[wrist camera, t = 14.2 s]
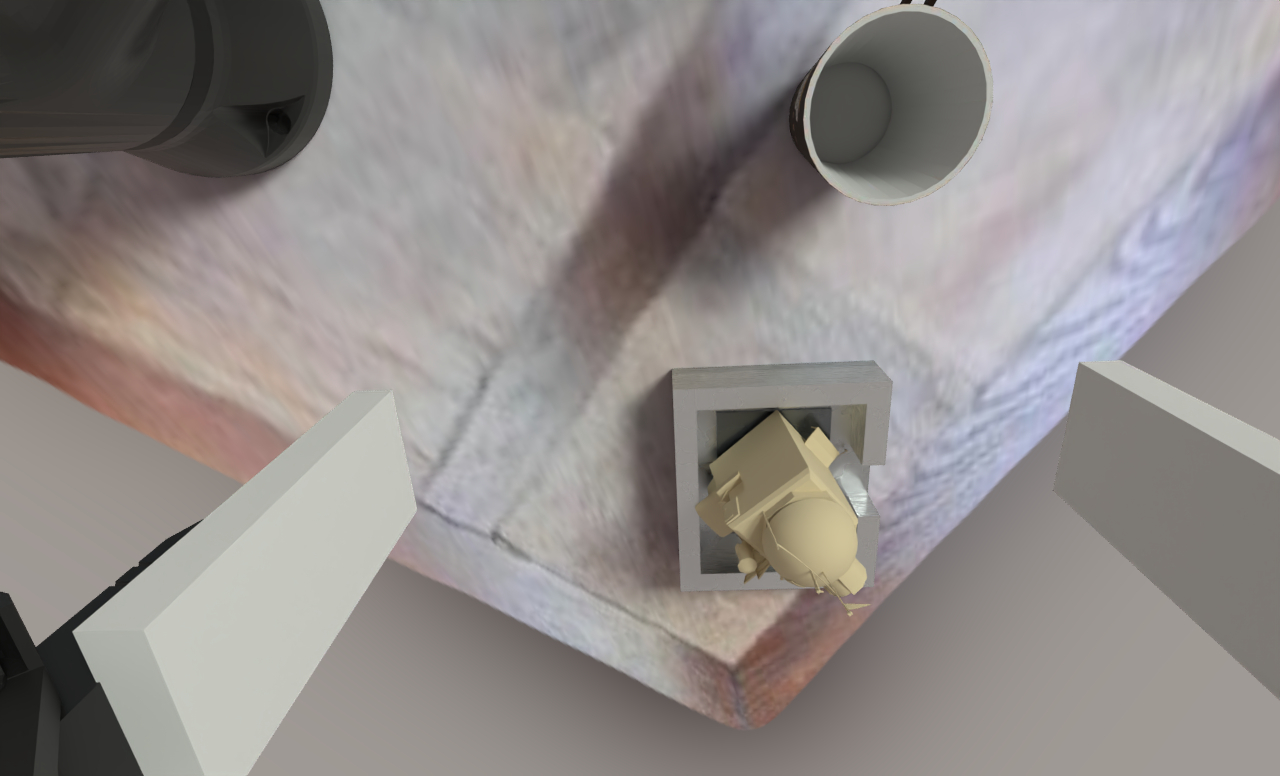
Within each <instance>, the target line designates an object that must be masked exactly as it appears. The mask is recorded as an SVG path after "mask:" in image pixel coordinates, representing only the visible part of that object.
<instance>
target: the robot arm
mask: <svg viewBox="0 0 1280 776" xmlns="http://www.w3.org/2000/svg"><path fill="white" fill-rule="evenodd" d="M332 78H333V55H332V46H331V40H330V34H329V30H328V26H327V22H326V19H325V15H324V12H323V10H322V7H321V4H320V2H319V0H0V158H12V157H28V156H44V155H60V154H77V153H93V152H109V151H124V152H127V153H130V154H132V155H135V156H137V157H140V158H143V159H145V160H148V161H151V162H153V163H156V164H159V165H161V166H164V167H166V168H169V169H172V170H175V171H178V172H182V173H186V174H190V175H197V176H204V177H233V176H242V175H251V174H256V173H261V172H264V171H267V170H270V169H273V168H275V167H277V166H279V165H281V164H283V163H285V162H286V161H288V160H289V159H291V158H292V157H294V156H295V155H296V154H297V153H298V152H299V151H301V150H302V149H303V148H304V146H305V145H306V144H307V143H308V142H309V141H310V139H311V138H312V137H313V135H314V134H315V132H316V131H317V129H318V127H319V125H320V123H321V121H322V119H323V117H324V114H325V112H326V109H327V106H328V102H329V98H330V93H331V88H332ZM1053 491H1054V492H1055V493H1056V494H1057V495H1058V496H1059V497H1060V498H1062V499H1063V500H1064V501H1065V502H1066V503H1067V504H1068V505H1069V506H1070V507H1071V508H1072V509H1073V510H1075V511H1076V512H1077V513H1078V514H1079V515H1080V516H1081V517H1082V518H1083V519H1084V520H1085V521H1086V522H1088V523H1089V524H1090V525H1091V526H1092V527H1093V528H1094V529H1095V530H1096V531H1097V532H1098V533H1099V534H1101V535H1102V536H1103V537H1104V538H1105V539H1106V540H1107V541H1108V542H1109V543H1110V544H1111V545H1112V546H1113V547H1115V548H1116V549H1117V550H1118V551H1119V552H1120V553H1121V554H1122V555H1123V556H1124V557H1126V559H1128V560H1129V561H1130V562H1131V563H1132V564H1133V565H1134V566H1135V567H1136V568H1137V569H1138V570H1139V571H1140V572H1142V573H1143V574H1144V575H1145V576H1146V577H1147V578H1148V579H1149V580H1150V581H1151V582H1152V583H1153V584H1155V585H1156V586H1157V587H1158V588H1159V589H1160V590H1161V591H1162V592H1163V593H1164V594H1165V595H1166V596H1168V597H1169V598H1170V599H1171V600H1172V601H1173V602H1174V603H1175V604H1176V605H1177V606H1178V607H1179V608H1180V609H1182V610H1183V611H1184V612H1185V613H1186V614H1187V615H1188V616H1189V617H1190V618H1191V619H1192V620H1193V621H1195V622H1196V623H1197V624H1198V625H1199V626H1200V627H1201V628H1202V629H1203V630H1205V632H1206V633H1208V634H1209V635H1210V636H1211V637H1212V638H1213V639H1214V640H1215V641H1216V642H1217V643H1218V644H1220V646H1222V647H1223V648H1224V649H1225V650H1226V651H1227V652H1228V653H1229V654H1230V655H1232V657H1233V658H1235V659H1236V660H1237V661H1238V662H1239V663H1240V664H1241V665H1242V666H1243V667H1244V668H1245V669H1246V670H1248V671H1249V672H1250V673H1251V674H1252V675H1253V676H1254V677H1255V678H1256V679H1257V680H1258V681H1259V682H1260V683H1262V684H1263V685H1264V686H1265V687H1266V688H1267V689H1268V690H1269V691H1270V692H1271V693H1272V694H1274V695H1275V696H1276V697H1277V698H1278V699H1279V700H1280V440H1278V439H1276V438H1274V437H1272V436H1270V435H1268V434H1266V433H1264V432H1262V431H1260V430H1258V429H1256V428H1254V427H1252V426H1250V425H1248V424H1246V423H1244V422H1242V421H1240V420H1238V419H1236V418H1235V417H1233V416H1230V415H1229V414H1227V413H1224V412H1223V411H1221V410H1218V409H1217V408H1215V407H1212V406H1211V405H1209V404H1207V403H1205V402H1203V401H1201V400H1199V399H1197V398H1194V397H1193V396H1191V395H1189V394H1187V393H1185V392H1183V391H1181V390H1179V389H1177V388H1175V387H1173V386H1171V385H1169V384H1167V383H1165V382H1163V381H1161V380H1159V379H1157V378H1155V377H1153V376H1151V375H1149V374H1147V373H1145V372H1143V371H1141V370H1139V369H1137V368H1135V367H1133V366H1131V365H1129V364H1127V363H1125V362H1123V361H1121V360H1120V361H1095V362H1079V364H1078V369H1077V374H1076V379H1075V384H1074V389H1073V394H1072V399H1071V404H1070V409H1069V414H1068V419H1067V424H1066V429H1065V434H1064V438H1063V444H1062V448H1061V453H1060V458H1059V463H1058V468H1057V473H1056V478H1055V483H1054V488H1053ZM416 511H417V507H416V503H415V498H414V493H413V488H412V483H411V479H410V474H409V469H408V464H407V460H406V455H405V450H404V445H403V440H402V436H401V431H400V426H399V421H398V417H397V412H396V407H395V402H394V397H393V393H392V390H377V391H354V392H353V393H352V394H350V395H349V396H348V397H347V398H346V399H345V400H343V401H342V402H341V403H340V404H339V405H337V406H336V407H335V408H334V409H333V410H332V411H330V412H329V413H328V414H327V415H326V416H325V417H323V418H322V419H321V420H320V421H319V422H318V423H316V424H315V425H314V426H313V427H312V428H311V429H309V430H308V431H307V432H306V433H305V434H303V435H302V436H301V437H300V438H299V439H298V440H296V441H295V442H294V443H293V444H292V445H291V446H289V447H288V448H287V449H286V450H285V451H284V452H282V453H281V454H280V455H279V456H278V457H276V458H275V459H274V460H273V461H272V462H271V463H269V464H268V465H267V466H266V467H265V468H264V469H262V470H261V471H260V472H259V473H258V474H257V475H255V476H254V477H253V478H252V479H251V480H250V481H248V482H247V483H246V484H245V485H244V486H242V487H241V488H240V489H239V490H238V491H237V492H235V493H234V494H233V495H232V496H231V497H230V498H228V499H227V500H226V501H225V502H224V503H223V504H221V505H220V506H219V507H218V508H217V509H216V510H214V511H213V512H212V513H211V514H210V515H209V516H207V517H206V518H205V519H203V520H201V521H199V522H197V523H195V524H193V525H192V526H190V527H188V528H186V529H184V530H182V531H181V532H179V533H177V534H175V535H173V536H171V537H170V538H168V539H166V540H165V541H164V542H162V543H161V544H160V545H159V546H158V547H156V548H155V549H154V550H153V551H152V552H150V553H149V554H148V555H147V556H146V557H144V558H143V559H142V560H141V561H140V562H139V566H138V567H132V568H131V569H130V570H129V571H127V572H126V573H125V574H124V575H123V576H122V577H120V578H119V579H118V580H117V581H116V584H115V586H109V587H108V588H107V589H106V590H105V591H103V592H102V593H101V594H100V595H99V596H97V597H96V598H95V599H94V600H92V601H91V602H90V603H89V604H88V605H86V606H85V607H84V608H83V609H82V610H80V611H79V612H78V613H77V614H76V615H74V616H73V617H72V618H71V619H69V620H68V621H67V622H66V623H65V624H63V625H62V626H61V627H60V628H59V629H57V630H56V631H55V632H54V633H53V634H51V635H50V636H49V637H48V638H47V639H45V640H44V641H43V642H42V643H41V644H39V645H38V646H37V647H35V645H34V643H33V641H32V639H31V637H30V635H29V633H28V631H27V629H26V627H25V625H24V623H23V621H22V619H21V617H20V616H19V613H18V611H17V609H16V607H15V605H14V603H13V601H12V600H11V597H10V595H9V594H8V593H3V592H0V776H247V775H248V773H249V772H250V770H251V768H252V767H253V765H254V764H255V762H256V760H257V759H258V758H259V756H260V754H261V753H262V751H263V750H264V748H265V747H266V745H267V743H268V742H269V740H270V739H271V737H272V736H273V734H274V732H275V731H276V729H277V728H278V726H279V725H280V723H281V722H282V720H283V718H284V717H285V715H286V714H287V712H288V711H289V709H290V708H291V706H292V705H293V703H294V701H295V700H296V698H297V696H298V695H299V694H300V692H301V691H302V689H303V687H304V686H305V684H306V683H307V681H308V680H309V678H310V676H311V675H312V673H313V672H314V670H315V669H316V667H317V666H318V664H319V662H320V661H321V659H322V658H323V656H324V655H325V653H326V652H327V650H328V648H329V647H330V645H331V644H332V642H333V641H334V639H335V638H336V636H337V634H338V633H339V631H340V630H341V628H342V627H343V625H344V623H345V622H346V620H347V619H348V617H349V616H350V614H351V613H352V611H353V609H354V608H355V606H356V605H357V603H358V602H359V600H360V598H361V597H362V595H363V594H364V592H365V590H366V589H367V588H368V586H369V584H370V583H371V581H372V580H373V578H374V577H375V575H376V574H377V572H378V571H379V569H380V567H381V565H382V564H383V563H384V561H385V560H386V558H387V556H388V555H389V553H390V552H391V550H392V549H393V547H394V546H395V544H396V542H397V541H398V539H399V538H400V536H401V535H402V533H403V532H404V530H405V528H406V527H407V525H408V524H409V522H410V521H411V519H412V518H413V516H414V514H415V513H416Z"/></svg>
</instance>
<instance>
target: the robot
mask: <svg viewBox="0 0 1280 776" xmlns="http://www.w3.org/2000/svg"><path fill="white" fill-rule="evenodd" d="M811 428H814V429H815V430H814V431H813V433H812V434H811V435H810V436H809V437H808V439H807V440H805V439H804V438H803V437H802V436H801V435H800V434H799V433H798V432H797V431H796V430H795V429H794V427H793V426H792V425H791V424H790V423H789V422H788V421H787V420H786V419H785V418H784V417H783V416H782V415H781V413H780V412H779V411H778V410H776V411H774V412H773V413H772V414H771V415H770V416H768V417H767V418H766V419H765V420H764V421H762V422H761V423H760V424H759V425H757V426H756V427H755V428H754V429H753V430H751V431H750V432H749V433H748V434H747V435H745V436H744V437H743V438H742V439H740V440H739V441H738V442H737V443H736V444H734V445H733V446H732V447H731V448H730V449H728V450H727V451H726V452H725V453H723V454H722V455H721V456H720V457H719V458H717V459H716V460H715V461H714V462H713V463H711V464H710V465H709V467H710V469H711V472H712V474H713V479H712V481H711V482H710V484H709V485H708V487H707V489H708V496H707V497H706V498H705V499H703V500H702V501H701V502H699V503H698V504H697V505H696V507H695V510H696V511H697V513H698V515H699V516H700V517H701V518H702V519H703V521H704V522H705V523H706V524H707V525H708V526H709V527H710V528H711V529H712V530H713V531H714V532H716V533H717V534H718V535H719V536H720V537H725V536H727V535H728V534H730V533H732V532H735V533H736V534H737V535H738V536H739V538H740V539H741V540H742V543H741V544H738V543H737V544H736V546H735V550H736V554H737V556H738V558H739V564H738V568H739V571H740V572H743V573H745V574H746V575H745V579H744V584H746V583H747V582H748V581H750V580H751V579H752V578H754V577H755V576H756V575H757V577H758V579H760V578H761V577H762V575H763V574H764V573H765V571H766V570H767V568H768V567H769V566H770V565H771V566H772V567H773V568H774V569H775V571H776V572H777V573H778V574H779V575H780V580H783V578H785V580H786V581H787V582H789V583H791V584H793V585H796V586H799V587H803V588H805V587H815V589H816V592H817V593H818V594H819V593H820V592H821V593H823V592H824V591H820V589H819V587H824V588H825V589H826V590H827V591H828V592H829V593H830V594H831V593H832V594H833V595H834V596H837V597H838V598H839V599H840V597H842V596H846V595H848V594H850V593H853V595H854V594H855V593H857V592H858V591H859V590H860V589H861V588H862V587H863V586H864V583H865V581H866V579H867V574H866V569H865V568H864V566H863V565H862V564H861V563H860V562H859V561H858V560H857V559H856V558H855V556H856V553H857V546H858V540H857V533H856V528H857V524H858V518H857V517H856V515H855V513H854V512H853V510H852V508H851V506H850V505H849V503H848V501H847V499H846V498H845V496H844V494H843V493H842V491H841V489H840V487H839V486H838V484H837V482H836V480H835V479H834V477H833V475H832V473H831V472H830V470H829V466H830V464H831V463H832V462H833V461H834V460H835V459H836V458H837V456H838V455H839V454H840V455H841V453H839V452H838V451H837V449H836V448H835V447H834V446H833V445H832V443H831V442H830V441H829V440H828V438H827V437H826V436H825V435H824V433H823V432H822V431H821V430H820V428H819V427H812V426H811ZM844 450H845V452H848V451H847V450H846V449H844ZM845 452H843V453H845ZM843 453H842V454H843ZM840 455H839V456H840ZM839 456H838V457H839ZM840 601H841V602H842V600H841V599H840ZM842 604H843V605H844V603H843V602H842ZM868 605H871V604H845V605H844V607H845V608H846V607H847V608H846V610H847V611H848V610H850V609H857V608H861V607H864V606H868ZM847 614H848V615H849V616H851V615H852V614H853V613H852V612H851V611H848V612H847Z"/></svg>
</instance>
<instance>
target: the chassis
mask: <svg viewBox="0 0 1280 776" xmlns="http://www.w3.org/2000/svg"><path fill="white" fill-rule="evenodd" d="M892 384H893V381H892V380H891V379H890V378H889V377H888V376H887V375H886V373H885V372H884V371H883V370H882V369H881V368H880V367H879V366H878V365H877V364H876V363H875V361H854V362H830V363H805V364H781V365H757V366H732V367H708V368H684V369H672V385H673V411H674V436H675V461H676V486H677V512H678V537H679V562H680V587H681V591H721V590H762V589H803V587H799V586H796V585H793V584H791V583H789V582H787V581H786V580H785V578H783V580H780V575H779V574H778V573H777V572H776V571H775V569H774V568H773V567H772V566H771V565H770V566H769V567H768V568H767V570H766V571H765V573H764V574H763V575H762V577H761V578H760V579H758V577H757V575H756V576H755V577H754V578H752V579H751V580H750V581H748V582H747V583H746V584H744V579H745V575H746V574H745V573H743V572H740V571H739V568H738V564H739V558H738V556H737V554H736V550H735V546H736V544H737V543H738V544H741V543H742V540H741V539H740V538H739V536H738V535H737V534H736V533H735V532H732V533H730V534H728V535H727V536H725V537H720V536H719V535H718V534H717V533H716V532H714V531H713V530H712V529H711V528H710V527H709V526H708V525H707V524H706V523H705V522H704V521H703V519H702V518H701V517H700V516H699V515H698V513H697V511H696V510H695V507H696V505H697V504H698V503H699V502H701V501H702V500H703V499H705V498H706V497H707V496H708V489H707V487H708V485H709V484H710V482H711V481H712V479H713V474H712V472H711V469H710V467H709V465H710V464H711V463H713V462H714V461H715V460H716V459H717V458H719V457H720V456H721V455H722V454H723V453H725V452H726V451H727V450H728V449H730V448H731V447H732V446H733V445H734V444H736V443H737V442H738V441H739V440H740V439H742V438H743V437H744V436H745V435H747V434H748V433H749V432H750V431H751V430H753V429H754V428H755V427H756V426H757V425H759V424H760V423H761V422H762V421H764V420H765V419H766V418H767V417H768V416H770V415H771V414H772V413H773V412H774V411H776V410H778V411H779V412H780V413H781V415H782V416H783V417H784V418H785V419H786V420H787V421H788V422H789V423H790V424H791V425H792V426H793V427H794V429H795V430H796V431H797V432H798V433H799V434H800V435H801V436H802V437H803V438H804V439H805V440H807V439H808V437H809V436H810V435H811V434H812V433H813V431H814V430H815V429H814V428H811V426H812V427H819V428H820V430H821V431H822V432H823V433H824V435H825V436H826V437H827V438H828V440H829V441H830V442H831V443H832V445H833V446H834V447H835V448H836V449H837V451H838V452H839V453H841V455H840V454H839V455H840V456H839V455H838V456H839V457H838V456H837V458H836V459H835V460H834V461H833V462H832V463H831V464H830V466H829V470H830V472H831V473H832V475H833V477H834V479H835V480H836V482H837V484H838V486H839V487H840V489H841V491H842V493H843V494H844V496H845V498H846V499H847V501H848V503H849V505H850V506H851V508H852V510H853V512H854V513H855V515H856V517H857V518H858V524H857V528H856V533H857V540H858V546H857V553H856V556H855V558H856V559H857V560H858V561H859V562H860V563H861V564H862V565H863V566H864V568H865V569H866V574H867V579H866V581H865V583H864V586H863V587H874V577H875V567H876V556H877V545H878V534H879V524H880V515H879V513H878V511H877V509H876V508H875V506H874V504H873V502H872V501H871V499H870V497H869V495H868V482H869V470H870V465H885V459H886V448H887V438H888V427H889V416H890V405H891V395H892ZM844 449H846V450H847V451H848V452H845V450H844ZM843 452H845V453H843ZM842 453H843V454H842ZM805 588H815V587H805ZM819 588H824V587H819Z"/></svg>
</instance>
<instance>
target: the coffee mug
mask: <svg viewBox="0 0 1280 776" xmlns="http://www.w3.org/2000/svg"><path fill="white" fill-rule="evenodd" d="M911 1H912V0H902V1H901V3H900V5H895V6H891V7H886V8H882V9H880V10H878V11H875V12H873V13H871V14H869V15H866V16H864V17H863V18H861V19H860V20H858V21H857V22H855V23H854V24H853V25H851V26H850V27H848V28H847V29H846V30H845V31H844V32H843V33H842V34H841V35H840V36H839V37H838V38H837V39H836V40H835V41H834V42H833V43H832V44H831V45H830V46H829V48H828V49H827V50H826V51H825V53H824V54H823V55H822V56H821V58H820V59H819V60H818V61H817V63H816V64H815V65H814V66H813V68H812V69H811V70H810V71H809V73H808V74H807V75H806V76H805V78H804V79H803V80H802V82H801V83H800V85H799V86H798V88H797V90H796V92H795V94H794V96H793V99H792V103H791V107H790V115H789V123H790V131H791V135H792V138H793V141H794V143H795V145H796V147H797V148H798V150H799V151H800V152H801V154H802V155H803V156H804V157H805V158H806V159H807V160H808V161H809V162H810V164H811V165H812V166H813V167H814V168H815V169H816V170H817V171H818V172H819V173H820V174H821V176H822V177H823V178H824V179H825V180H826V181H827V182H828V183H829V184H830V185H831V186H832V187H834V188H835V189H836V190H838V191H839V192H840V193H842V194H843V195H845V196H847V197H849V198H851V199H854V200H856V201H858V202H862V203H867V204H871V205H884V206H893V205H898V204H904V203H909V202H912V201H915V200H917V199H920V198H923V197H925V196H928V195H929V194H931V193H933V192H934V191H936V190H938V189H939V188H941V187H943V186H944V185H945V184H946V183H948V182H949V181H950V180H951V179H952V178H953V177H955V176H956V175H957V174H958V173H959V172H960V171H961V170H962V168H963V167H964V166H965V165H966V164H967V162H968V161H969V160H970V159H971V157H972V156H973V154H974V152H975V151H976V149H977V147H978V146H979V144H980V142H981V140H982V138H983V136H984V133H985V130H986V128H987V125H988V122H989V119H990V113H991V108H992V103H993V78H992V73H991V68H990V63H989V60H988V57H987V55H986V53H985V50H984V48H983V46H982V44H981V42H980V41H979V39H978V38H977V37H976V35H975V34H974V32H973V31H972V30H971V29H970V28H969V27H968V26H967V25H966V24H965V23H964V22H962V21H961V20H960V19H959V18H958V17H956V16H954V15H952V14H950V13H948V12H946V11H944V10H943V9H941V8H937V7H933V6H934V4H935V2H936V1H937V0H926V1H925V3H924V4H910V3H911Z"/></svg>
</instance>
